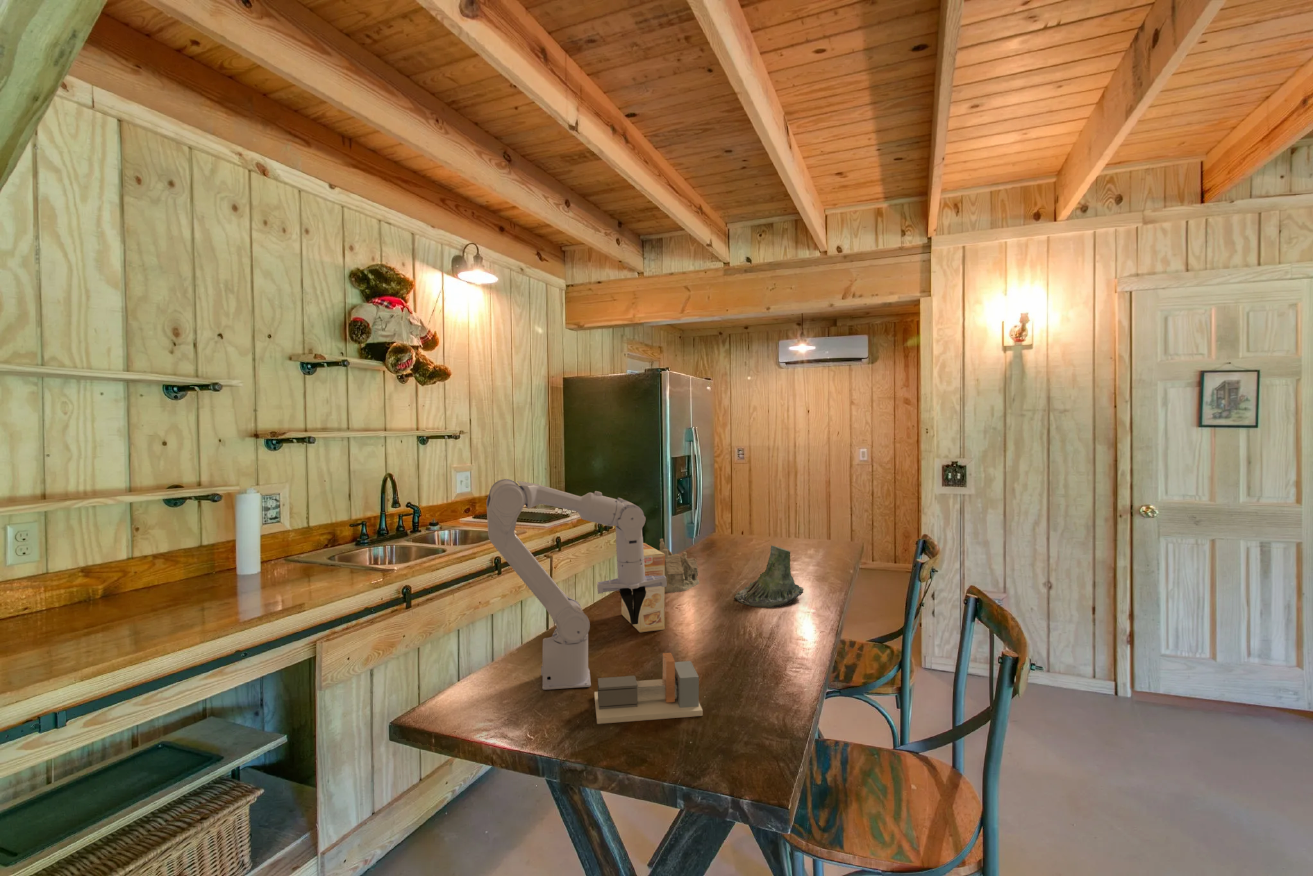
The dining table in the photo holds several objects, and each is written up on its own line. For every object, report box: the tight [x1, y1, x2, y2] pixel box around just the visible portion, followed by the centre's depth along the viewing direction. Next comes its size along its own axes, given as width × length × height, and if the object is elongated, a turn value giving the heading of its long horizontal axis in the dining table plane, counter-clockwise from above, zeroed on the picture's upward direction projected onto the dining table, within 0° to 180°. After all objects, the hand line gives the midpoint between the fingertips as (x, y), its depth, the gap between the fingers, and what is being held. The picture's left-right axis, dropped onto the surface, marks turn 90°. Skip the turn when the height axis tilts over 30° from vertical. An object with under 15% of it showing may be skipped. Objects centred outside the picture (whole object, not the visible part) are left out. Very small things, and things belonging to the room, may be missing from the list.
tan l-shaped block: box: [636, 652, 678, 703], centre depth 109 cm, size 12×4×8 cm, turn 99°
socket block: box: [675, 660, 700, 708], centre depth 110 cm, size 4×7×6 cm, turn 9°
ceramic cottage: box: [658, 538, 700, 594], centre depth 189 cm, size 16×16×15 cm
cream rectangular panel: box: [593, 675, 704, 725], centre depth 109 cm, size 19×10×5 cm, turn 99°
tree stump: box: [734, 545, 804, 609], centre depth 176 cm, size 18×20×18 cm
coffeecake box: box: [621, 542, 666, 633], centre depth 154 cm, size 15×7×20 cm, turn 22°
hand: (634, 622), depth 123 cm, fingers closed
